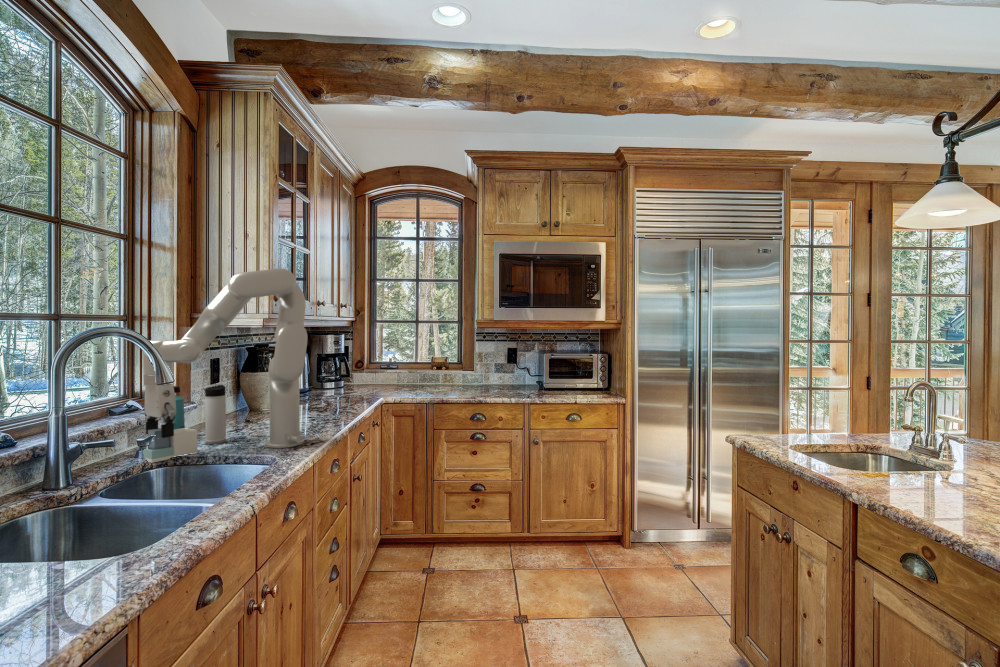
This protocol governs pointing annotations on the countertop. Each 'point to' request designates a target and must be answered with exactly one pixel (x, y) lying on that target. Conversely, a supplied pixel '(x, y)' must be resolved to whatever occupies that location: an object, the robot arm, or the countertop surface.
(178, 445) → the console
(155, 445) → the grey rectangular block
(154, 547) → the countertop surface
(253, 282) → the robot arm
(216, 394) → the travel mug
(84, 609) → the countertop surface
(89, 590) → the countertop surface
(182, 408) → the beverage bottle
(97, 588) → the countertop surface
